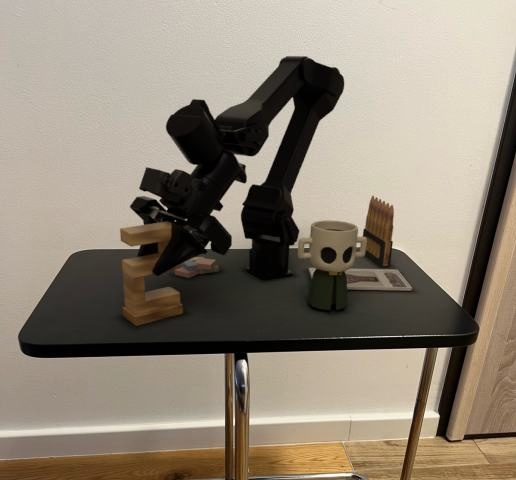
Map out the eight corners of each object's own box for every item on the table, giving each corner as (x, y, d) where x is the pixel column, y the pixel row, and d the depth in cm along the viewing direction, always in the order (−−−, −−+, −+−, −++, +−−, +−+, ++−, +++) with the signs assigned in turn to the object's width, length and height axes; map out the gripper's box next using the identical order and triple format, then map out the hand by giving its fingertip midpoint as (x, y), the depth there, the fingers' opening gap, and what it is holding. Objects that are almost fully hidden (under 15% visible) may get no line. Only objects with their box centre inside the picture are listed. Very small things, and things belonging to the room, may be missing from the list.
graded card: (308, 267, 102) (397, 269, 103) (308, 270, 103) (397, 272, 103) (315, 285, 93) (412, 287, 94) (315, 288, 94) (411, 290, 94)
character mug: (299, 316, 83) (305, 232, 77) (288, 299, 89) (293, 220, 83) (367, 313, 85) (377, 231, 79) (351, 296, 91) (360, 219, 85)
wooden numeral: (169, 304, 85) (167, 220, 79) (183, 313, 82) (182, 226, 76) (122, 316, 80) (116, 227, 74) (135, 326, 78) (130, 234, 71)
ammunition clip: (360, 251, 115) (367, 194, 110) (368, 251, 116) (375, 194, 111) (381, 267, 106) (389, 205, 101) (389, 267, 107) (398, 205, 101)
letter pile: (207, 263, 105) (206, 253, 104) (221, 273, 100) (221, 263, 99) (167, 269, 101) (166, 258, 100) (180, 279, 96) (180, 268, 95)
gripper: (137, 140, 80) (74, 223, 78) (216, 152, 68) (144, 251, 66) (182, 190, 89) (126, 266, 86) (259, 209, 76) (196, 299, 74)
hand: (145, 270), depth 78 cm, fingers closed on wooden numeral, 4 cm apart
